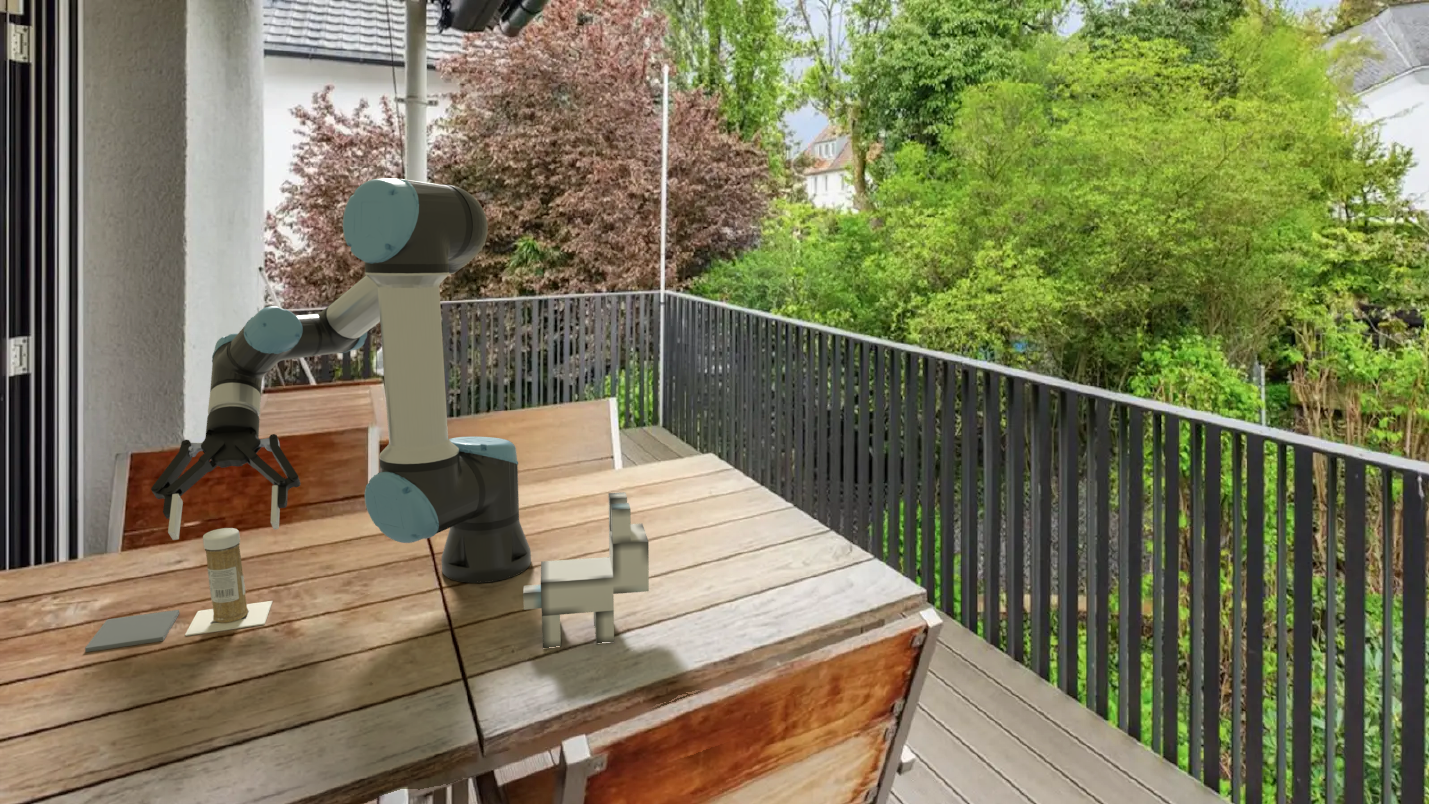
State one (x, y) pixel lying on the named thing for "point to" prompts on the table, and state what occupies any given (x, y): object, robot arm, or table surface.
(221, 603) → the sprinkles bottle
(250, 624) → the tile
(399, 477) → the robot arm
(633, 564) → the toy llama
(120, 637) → the coaster
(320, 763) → the table surface
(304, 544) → the table surface
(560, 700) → the table surface
